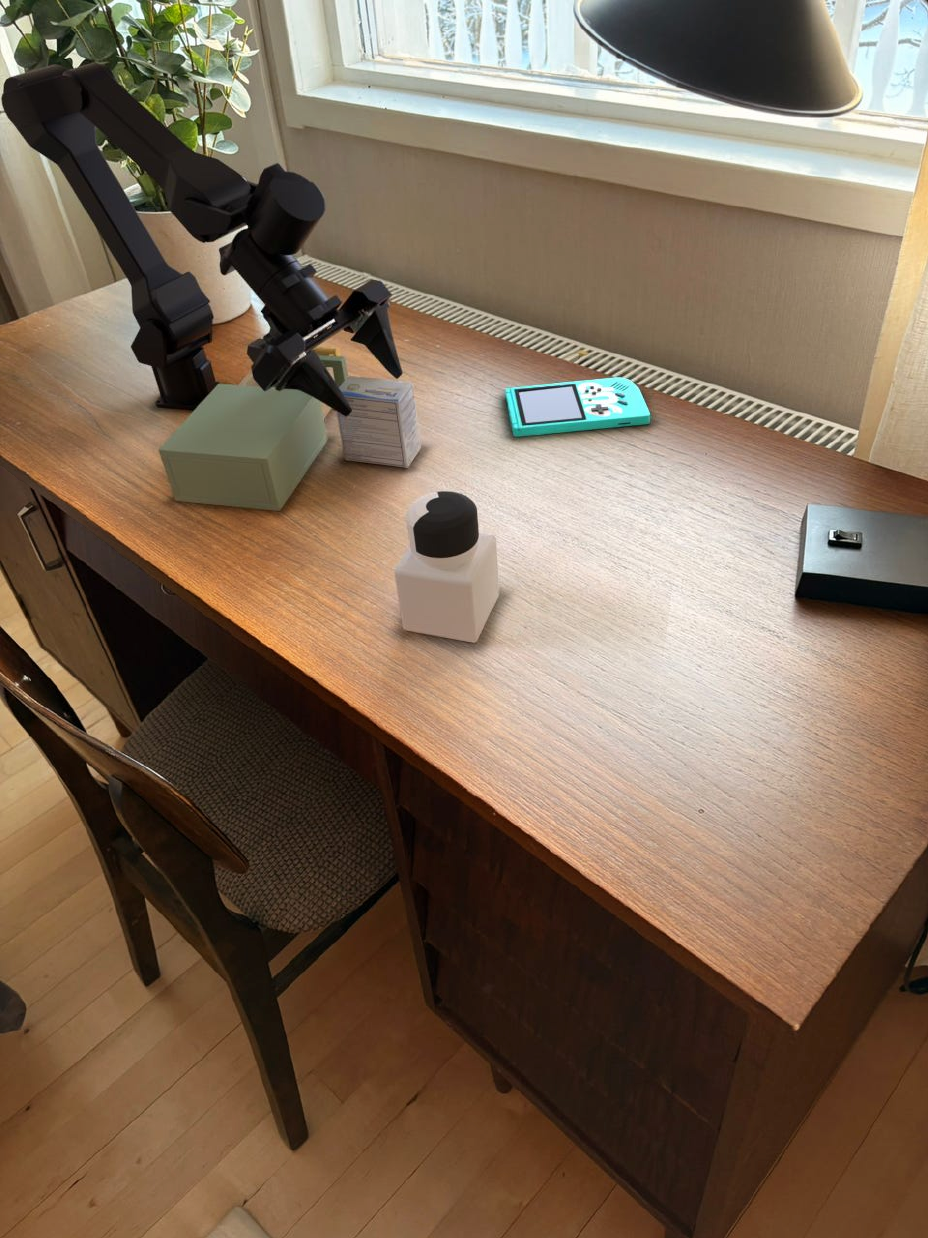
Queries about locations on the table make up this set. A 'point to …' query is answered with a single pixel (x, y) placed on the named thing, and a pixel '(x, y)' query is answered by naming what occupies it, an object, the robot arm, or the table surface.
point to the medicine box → (379, 422)
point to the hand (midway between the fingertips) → (375, 394)
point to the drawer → (331, 362)
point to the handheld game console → (575, 406)
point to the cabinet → (244, 447)
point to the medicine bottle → (447, 569)
